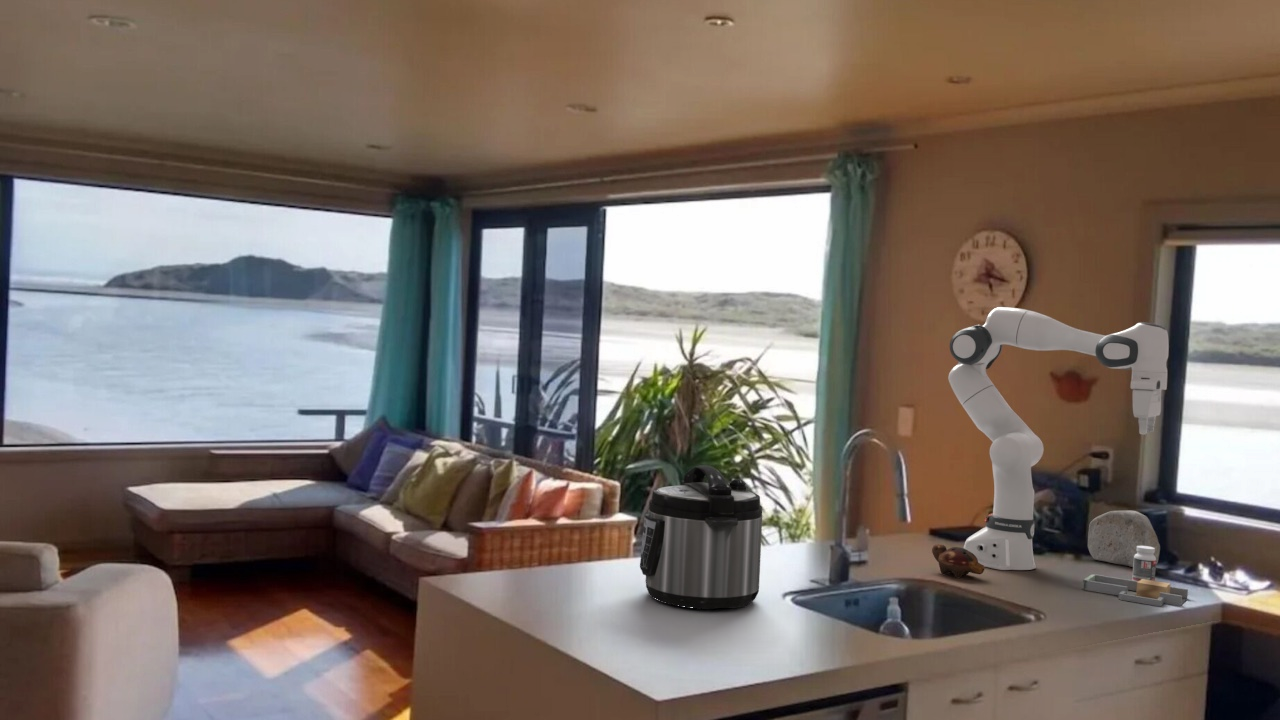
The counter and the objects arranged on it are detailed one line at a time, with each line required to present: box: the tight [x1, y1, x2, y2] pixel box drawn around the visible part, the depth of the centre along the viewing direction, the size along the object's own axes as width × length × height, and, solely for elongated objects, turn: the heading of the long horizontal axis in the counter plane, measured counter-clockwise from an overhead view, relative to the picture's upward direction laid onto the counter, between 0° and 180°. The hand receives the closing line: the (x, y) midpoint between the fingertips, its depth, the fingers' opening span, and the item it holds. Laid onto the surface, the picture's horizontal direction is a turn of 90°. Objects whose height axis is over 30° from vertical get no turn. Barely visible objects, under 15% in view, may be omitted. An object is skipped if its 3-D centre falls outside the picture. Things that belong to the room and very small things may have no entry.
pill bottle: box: [1131, 546, 1157, 581], centre depth 317 cm, size 6×6×10 cm
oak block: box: [1135, 579, 1171, 599], centre depth 299 cm, size 7×6×4 cm
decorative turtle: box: [931, 543, 986, 578], centre depth 313 cm, size 10×15×8 cm, turn 56°
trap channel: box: [1082, 573, 1189, 607], centre depth 299 cm, size 24×16×2 cm, turn 56°
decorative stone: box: [1087, 509, 1161, 568], centre depth 342 cm, size 17×20×10 cm
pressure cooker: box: [639, 464, 763, 610], centre depth 269 cm, size 30×28×32 cm
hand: (1146, 433), depth 308 cm, fingers open, 8 cm apart
